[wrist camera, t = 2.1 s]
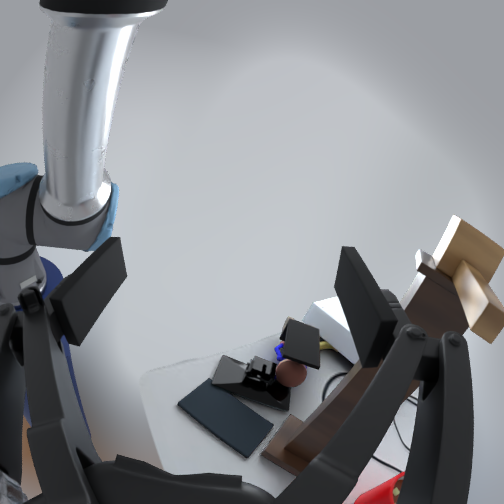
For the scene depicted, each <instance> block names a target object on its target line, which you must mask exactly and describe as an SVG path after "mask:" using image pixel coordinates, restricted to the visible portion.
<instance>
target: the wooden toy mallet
mask: <svg viewBox="0 0 504 504" xmlns="http://www.w3.org/2000/svg"><path fill="white" fill-rule="evenodd" d="M503 256H504V249H503V248H502V247H500V246H499V245H498V244H497V243H495V242H494V241H492V240H491V239H490V238H488V237H487V236H485V235H484V234H483V233H481V232H480V231H479V230H477V229H475V228H474V227H473V226H471V225H470V224H468V223H467V222H465V221H463V220H462V219H461V218H459V217H457V216H456V215H453V217H452V219H451V221H450V223H449V225H448V227H447V229H446V231H445V233H444V235H443V237H442V239H441V241H440V243H439V245H438V247H437V248H436V250H435V252H434V254H433V260H434V263H435V266H436V268H437V269H438V270H440V271H442V272H443V273H445V274H446V275H448V276H449V277H451V278H452V281H453V283H454V285H455V288H456V291H457V293H458V296H459V298H460V301H461V304H462V306H463V309H464V312H465V315H466V318H467V321H468V324H469V327H470V330H471V331H472V332H474V333H475V334H477V335H478V336H480V337H481V338H483V339H484V340H486V341H487V342H488V343H490V344H491V343H492V342H493V341H494V339H495V338H496V337H497V336H498V334H499V333H500V331H501V330H502V329H503V327H504V307H503V305H502V304H501V302H500V301H499V299H498V298H497V296H496V295H495V293H494V292H493V290H492V289H491V287H490V286H489V285H488V283H489V282H490V280H491V278H492V277H493V275H494V273H495V271H496V269H497V268H498V266H499V264H500V262H501V260H502V258H503Z"/></svg>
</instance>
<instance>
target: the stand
mask: <svg viewBox="0 0 504 504" xmlns="http://www.w3.org/2000/svg"><path fill="white" fill-rule="evenodd" d="M416 268H417V271H418V274H417V275H416V277H415V279H414V281H413V282H412V284H411V286H410V287H409V289H408V290H407V292H406V294H405V295H404V297H403V298H402V300H401V301H400V304H401V306H402V308H403V309H404V311H405V313H406V314H407V316H408V318H409V319H410V321H411V323H412V324H414V325H418V326H420V327H421V328H423V329H424V330H425V331H426V332H427V334H428V337H433V338H439V339H442V337H443V335H444V333H445V332H447V331H455V332H458V333H460V334H461V335H463V334H464V332H465V331H466V330H467V329H468V327H469V324H468V321H467V318H466V315H465V312H464V309H463V306H462V304H461V301H460V298H459V296H458V293H457V291H456V288H455V285H454V283H453V281H452V278H451V277H449V276H448V275H446V274H445V273H443V272H442V271H440V270H438V269H437V268H436V266H435V263H434V260H433V257H432V256H431V255H429V254H427V253H426V252H424V251H422V250H420V249H419V250H418V252H417V253H416ZM382 363H383V359H381V361H380V363H379V365H378V367H374V368H362V366H361V362H360V359H359V360H358V361H357V363H356V364H355V365H354V366H353V367H352V369H351V370H350V371H349V372H348V374H347V375H346V376H345V377H344V378H343V380H342V381H341V382H340V383H339V384H338V385H337V387H336V388H335V389H334V390H333V391H332V392H331V393H330V395H329V396H328V397H327V398H326V399H325V400H324V401H323V402H322V403H321V404H320V406H319V407H318V408H317V409H316V410H315V411H314V412H313V413H312V414H311V415H310V416H309V417H308V418H307V419H306V420H305V421H304V422H303V421H301V420H299V419H298V418H296V417H295V416H293V415H291V414H290V415H289V416H288V418H287V419H286V420H285V421H284V423H283V424H282V426H281V427H280V428H279V430H278V431H277V432H276V434H275V435H274V436H273V438H272V439H271V440H270V442H269V443H268V444H267V446H266V447H265V448H264V450H263V451H262V452H261V453H260V454H261V455H262V456H264V457H265V458H267V459H269V460H270V461H272V462H273V463H275V464H277V465H278V466H280V467H282V468H283V469H285V470H287V471H288V472H290V473H292V474H294V475H295V476H298V475H299V474H300V473H301V472H302V471H303V470H304V469H305V468H306V466H307V465H308V464H309V463H310V462H311V461H312V460H313V459H314V458H315V457H316V456H317V455H318V454H319V453H320V452H321V451H322V450H323V448H324V447H325V446H326V445H327V443H328V442H329V441H330V440H331V438H332V437H333V436H334V435H335V433H336V432H337V431H338V429H339V428H340V427H341V425H342V424H343V423H344V421H345V420H346V419H347V417H348V416H349V414H350V413H351V412H352V410H353V409H354V407H355V406H356V404H357V403H358V401H359V400H360V398H361V397H362V395H363V394H364V392H365V391H366V389H367V388H368V386H369V385H370V383H371V381H372V380H373V378H374V377H375V375H376V373H377V372H378V370H379V368H380V367H381V365H382ZM419 385H420V381H418V380H412V382H411V384H410V386H409V388H408V390H407V393H406V395H405V397H404V399H403V401H402V403H403V402H404V401H405V400H406V399H407V398H408V397H409V396H410V395H411V394H412V393H413V392H414V391H415V390H416V389H417V388H418V387H419ZM402 403H401V404H402Z"/></svg>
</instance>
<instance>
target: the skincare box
mask: <svg viewBox="0 0 504 504" xmlns="http://www.w3.org/2000/svg"><path fill="white" fill-rule="evenodd" d="M302 321H303V322H304V323H305V324H307V325H311V326H314V327H315V328H318V329H319V332H320V336H321V337H322V338H323V339H324V340H326V341H327V342H328V343H329V344H330V345H332V346H333V347H334V348H335V349H336V350H338V351H339V352H340V353H341V354H342V355H344V356H345V357H346V358H347V359H348V360H350V361H351V362H352V363H353V364H354V365H355V364H356V363H357V361H358V360H359V356H358V353H357V350H356V347H355V344H354V341H353V338H352V335H351V332H350V329H349V327H348V324H347V321H346V318H345V315H344V312H343V310H342V307H341V304H340V301H339V299H338V296H337V297H334V298H329V299H326V300H323V301H319V302H313V303H312V305H311V307H310V308H309V310H308V312H307V313H306V315H305V316H304V318H303V320H302Z"/></svg>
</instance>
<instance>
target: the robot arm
mask: <svg viewBox="0 0 504 504" xmlns="http://www.w3.org/2000/svg"><path fill="white" fill-rule="evenodd" d="M167 1H168V0H40V3H39V8H40V10H41V11H43V12H44V13H45V14H46V15H47V16H48V17H49V18H50V19H51V26H50V32H49V38H48V44H47V52H46V60H45V71H44V85H43V145H44V161H45V172H46V173H45V174H44V175H43V176H40V175H37V174H38V169H37V166H36V165H35V164H31V163H15V164H9V165H5V166H2V167H0V504H342V503H343V502H344V500H345V499H346V498H347V496H348V495H349V494H350V492H351V491H352V490H353V488H354V487H355V485H356V483H357V482H358V478H359V476H360V474H361V473H362V471H363V470H364V468H365V467H366V465H367V464H368V462H369V460H370V459H371V457H372V456H373V454H374V452H375V451H376V449H377V448H378V446H379V444H380V442H381V441H382V439H383V437H384V436H385V434H386V432H387V430H388V428H389V427H390V425H391V423H392V421H393V419H394V417H395V415H396V413H397V411H398V409H399V407H400V405H401V403H402V401H403V399H404V397H405V395H406V393H407V390H408V388H409V386H410V384H411V382H412V380H418V381H420V385H419V395H418V404H417V412H416V419H415V426H414V432H413V437H412V443H411V448H410V453H409V458H408V462H407V466H406V470H405V474H404V478H403V482H402V486H401V489H400V493H399V496H398V499H397V503H396V504H467V499H468V494H469V487H470V479H471V469H472V457H473V438H474V437H473V436H474V411H473V391H472V378H471V368H470V360H469V352H468V345H467V341H466V339H465V338H464V337H463V336H462V335H461V334H460V333H458V332H455V331H447V332H445V333H444V335H443V337H442V339H439V338H433V337H428V334H427V332H426V331H425V330H424V329H423V328H421V327H420V326H418V325H414V324H412V323H411V321H410V319H409V318H408V316H407V314H406V313H405V311H404V309H403V308H402V306H401V304H400V303H399V301H398V300H397V298H396V296H395V295H394V294H393V293H391V292H390V291H389V290H385V289H384V290H382V289H380V288H379V286H378V284H377V283H376V281H375V279H374V278H373V276H372V274H371V273H370V271H369V270H368V268H367V266H366V265H365V263H364V262H363V260H362V258H361V257H360V255H359V254H358V252H357V250H356V249H355V247H345V246H342V250H341V255H340V260H339V266H338V271H337V276H336V280H335V285H334V288H335V290H336V293H337V296H338V299H339V301H340V304H341V307H342V310H343V312H344V315H345V318H346V321H347V324H348V327H349V329H350V332H351V335H352V338H353V341H354V344H355V347H356V350H357V353H358V356H359V359H360V362H361V366H362V368H374V367H378V365H379V363H380V361H381V359H383V363H382V365H381V367H380V368H379V370H378V372H377V373H376V375H375V377H374V378H373V380H372V381H371V383H370V385H369V386H368V388H367V389H366V391H365V392H364V394H363V395H362V397H361V398H360V400H359V401H358V403H357V404H356V406H355V407H354V409H353V410H352V412H351V413H350V414H349V416H348V417H347V419H346V420H345V421H344V423H343V424H342V425H341V427H340V428H339V429H338V431H337V432H336V433H335V435H334V436H333V437H332V438H331V440H330V441H329V442H328V443H327V445H326V446H325V447H324V448H323V450H322V451H321V452H320V453H319V454H318V455H317V456H316V457H315V458H314V459H313V460H312V461H311V462H310V463H309V464H308V465H307V466H306V468H305V469H304V470H303V471H302V472H301V473H300V474H299V475H298V476H297V477H296V478H295V479H294V481H293V482H292V483H291V484H290V485H289V486H288V487H287V488H286V489H285V490H284V491H283V492H282V493H281V494H280V495H279V496H278V497H277V498H274V497H273V496H272V495H271V494H269V493H268V492H266V491H265V490H263V489H261V488H259V487H257V486H254V485H252V484H249V483H246V482H242V476H240V475H225V474H214V473H203V474H190V475H173V474H170V473H168V472H166V471H163V470H161V469H159V468H157V467H155V466H153V465H151V464H148V463H146V462H144V461H140V460H136V459H132V458H128V457H125V456H121V455H118V454H117V457H116V460H115V461H104V462H102V460H101V459H100V457H99V456H98V454H97V452H96V450H95V448H94V446H93V443H92V441H91V438H90V436H89V433H88V430H87V428H86V425H85V422H84V419H83V416H82V414H81V411H80V408H79V404H78V401H77V398H76V395H75V391H74V388H73V384H72V381H71V377H70V373H69V369H68V365H67V361H66V357H65V352H64V347H63V344H62V342H61V338H62V337H63V335H64V336H65V338H66V340H67V342H68V344H72V345H76V346H80V345H81V343H82V342H83V340H84V338H85V337H86V336H87V334H88V332H89V331H90V329H91V328H92V326H93V325H94V323H95V322H96V320H97V319H98V317H99V316H100V314H101V313H102V311H103V310H104V308H105V307H106V305H107V304H108V303H109V301H110V300H111V298H112V297H113V295H114V294H115V293H116V291H117V290H118V288H119V287H120V285H121V284H122V283H123V281H124V280H125V279H126V277H127V273H126V268H125V262H124V257H123V251H122V247H121V240H120V237H111V233H112V229H113V223H114V220H115V216H116V211H117V205H118V197H119V188H118V186H117V185H116V184H113V183H112V182H111V180H110V177H109V174H108V173H107V171H106V170H105V168H104V163H105V157H106V151H107V145H108V139H109V133H110V128H111V123H112V119H113V114H114V109H115V105H116V101H117V97H118V93H119V88H120V85H121V81H122V78H123V74H124V70H125V67H126V64H127V61H128V57H129V54H130V51H131V48H132V45H133V42H134V39H135V36H136V34H137V31H138V28H139V26H140V23H141V22H142V21H143V20H144V19H146V18H148V17H150V16H152V15H155V14H157V13H159V12H161V11H162V10H163V9H164V8H165V6H166V3H167ZM36 245H37V246H47V247H57V248H67V249H76V250H83V251H85V252H88V251H94V252H93V253H92V254H91V255H90V256H89V257H88V258H87V259H86V260H85V261H84V262H83V263H82V264H81V265H80V266H79V267H78V268H77V269H76V270H75V271H74V272H73V273H72V274H70V275H68V276H67V277H65V278H64V279H63V280H62V281H61V282H60V283H59V285H57V286H56V287H55V289H53V290H52V291H51V292H50V293H49V294H48V296H47V297H46V298H45V299H44V300H43V297H42V296H43V294H44V292H45V290H46V287H47V278H46V271H45V269H44V266H43V264H42V262H41V259H40V257H39V254H38V252H37V249H36ZM20 309H22V310H23V311H16V310H20ZM26 389H27V397H28V404H29V410H30V416H31V422H32V428H28V429H27V438H28V442H29V447H30V451H31V456H32V459H33V463H34V467H35V470H36V474H37V477H38V480H39V483H40V487H41V490H42V493H41V494H40V495H38V496H36V497H34V498H32V499H30V500H28V499H27V496H26V494H24V493H23V492H22V489H21V487H20V485H21V476H22V425H23V410H24V400H25V391H26Z"/></svg>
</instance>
